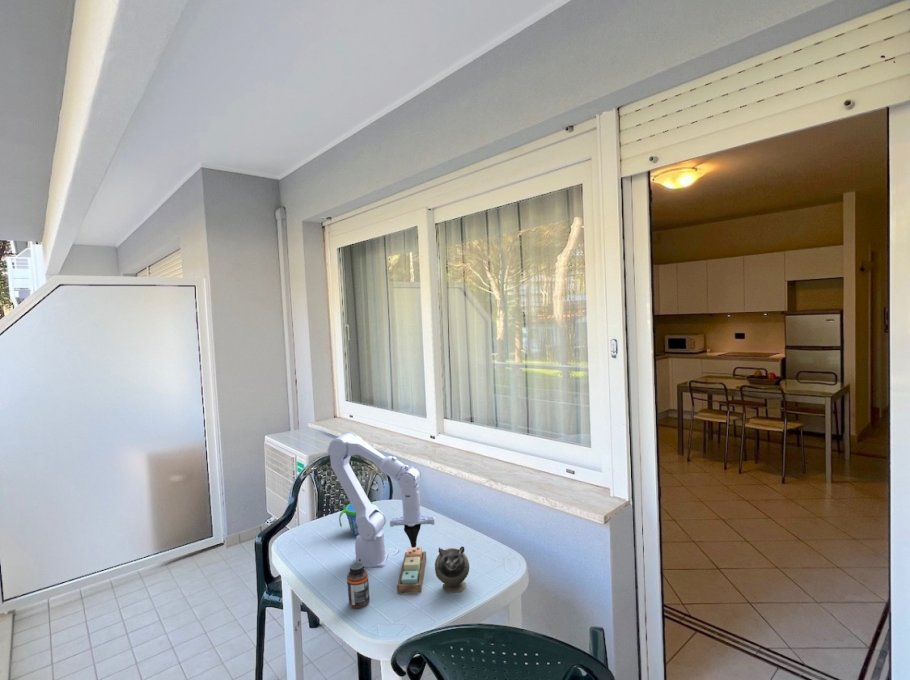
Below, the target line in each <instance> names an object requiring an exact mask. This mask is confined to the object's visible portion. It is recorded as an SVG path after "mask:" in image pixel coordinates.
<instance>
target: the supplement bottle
mask: <svg viewBox="0 0 910 680" xmlns="http://www.w3.org/2000/svg"><path fill="white" fill-rule="evenodd" d="M346 580H347V581H346V582H347V583H346V584H347V593H348V595H347V596H348V604H349V606H350V607H351V608H352V609H361V608H364V607H366V606H367V605H368V604H369V603H370V597H371V596H370V586H369V585H370V584H369V573H368V570H367V569H366V568H365V567H364V564H363V563H362V562H356V561H355V562H352V563H351V564H350V565H349V571H348V573H347V575H346Z"/></svg>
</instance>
